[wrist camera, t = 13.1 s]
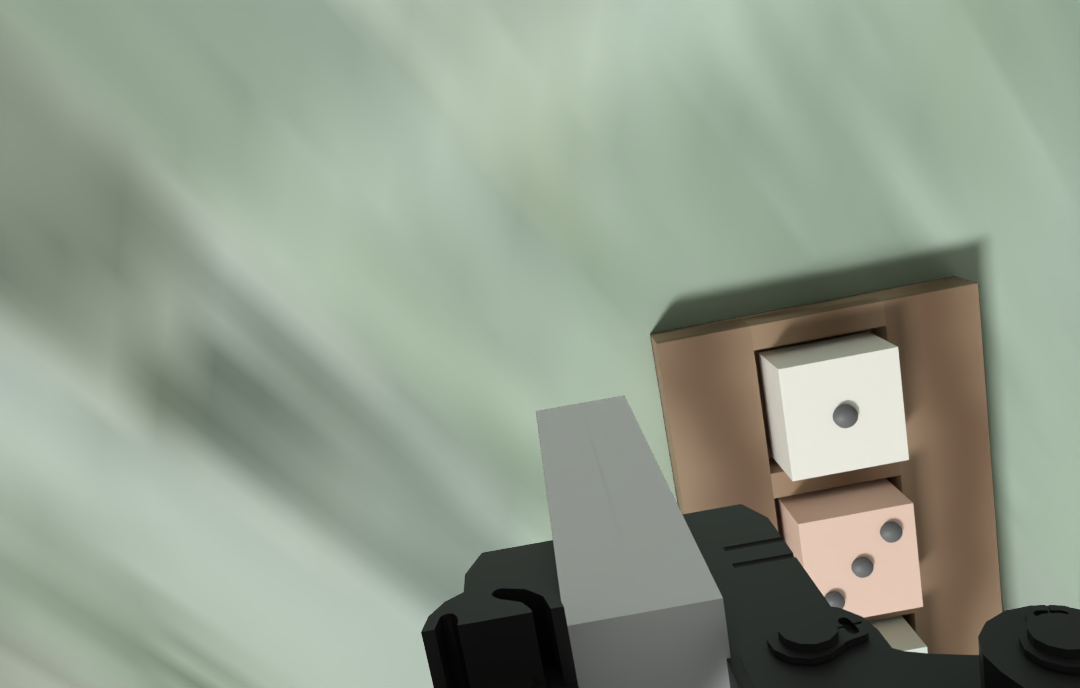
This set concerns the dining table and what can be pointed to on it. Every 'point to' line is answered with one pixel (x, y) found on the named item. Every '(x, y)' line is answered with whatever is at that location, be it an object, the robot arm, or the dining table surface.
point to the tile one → (834, 405)
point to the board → (925, 479)
